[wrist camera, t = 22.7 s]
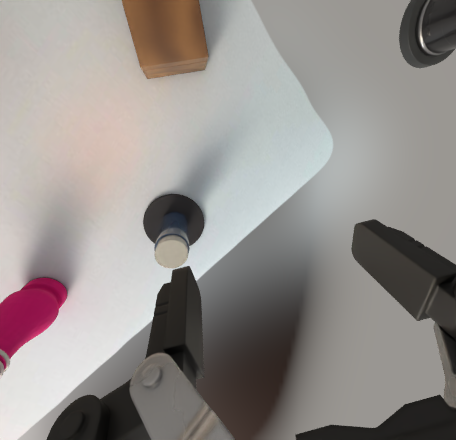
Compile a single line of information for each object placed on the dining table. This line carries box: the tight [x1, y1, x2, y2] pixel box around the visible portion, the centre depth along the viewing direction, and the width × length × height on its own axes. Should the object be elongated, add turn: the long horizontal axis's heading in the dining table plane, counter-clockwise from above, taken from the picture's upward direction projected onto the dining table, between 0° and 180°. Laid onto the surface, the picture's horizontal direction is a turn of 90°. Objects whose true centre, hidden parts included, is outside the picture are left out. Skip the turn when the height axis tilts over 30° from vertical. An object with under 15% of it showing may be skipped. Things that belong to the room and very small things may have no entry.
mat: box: [143, 194, 204, 246], centre depth 36 cm, size 10×10×1 cm
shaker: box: [155, 212, 189, 268], centre depth 31 cm, size 4×4×10 cm
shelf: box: [122, 0, 209, 79], centre depth 24 cm, size 8×12×5 cm, turn 11°
